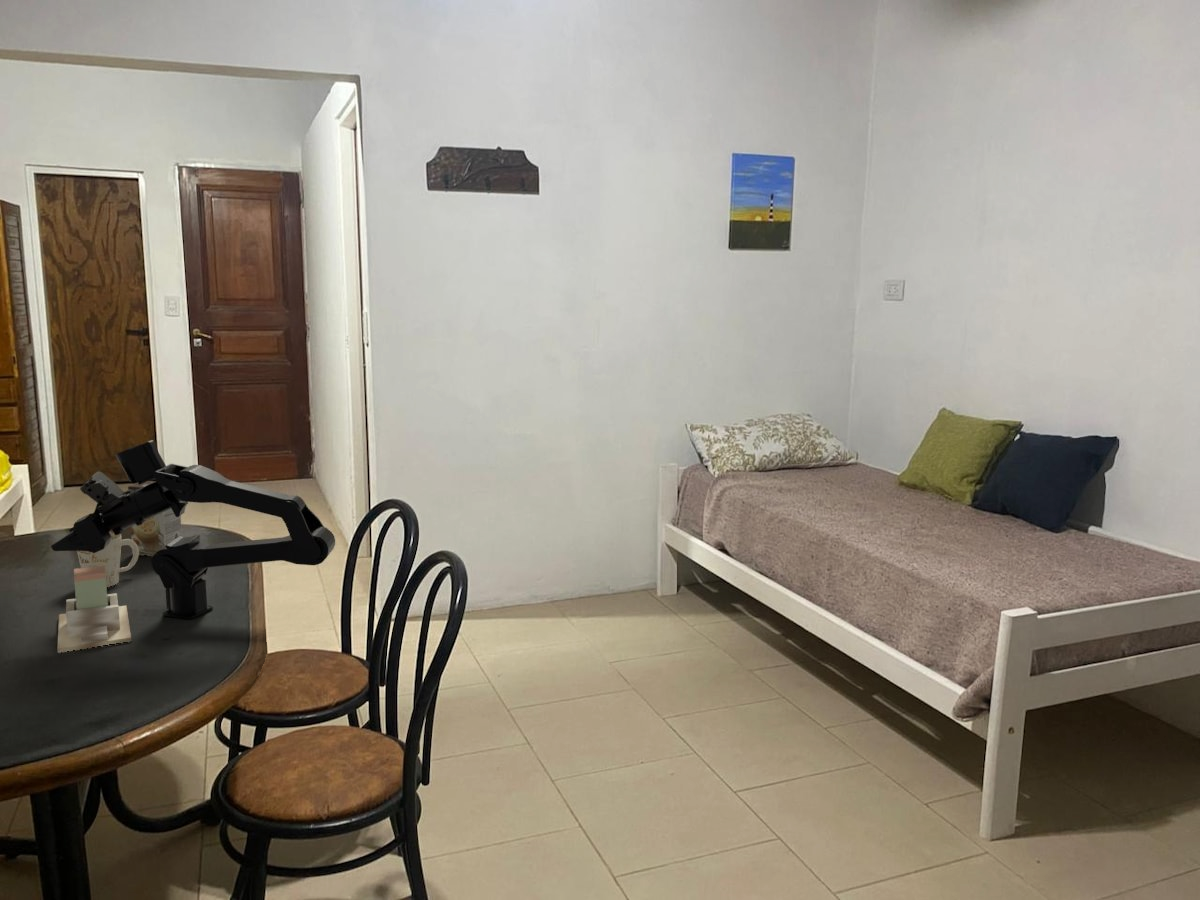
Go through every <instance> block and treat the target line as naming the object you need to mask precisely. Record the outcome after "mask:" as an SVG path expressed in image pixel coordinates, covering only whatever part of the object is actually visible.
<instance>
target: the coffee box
mask: <svg viewBox="0 0 1200 900" xmlns="http://www.w3.org/2000/svg"><path fill="white" fill-rule="evenodd" d="M153 482H156V480H149V481H147V482H144V483H142V484H140V485H138V483H137V482H136V483H134V484H131V485H128V486H127V490H129V489H131V490H133V489H134V491H135V490H137V489H140V488H142V487H144V486H147V485H149V484H151V483H153ZM182 533H183V532H182V515H181V516H179V517H176V516H175V514H174V512H173V511H172V509H169V510H167V511H165V512H163V513H160V514H158V515H156V516H154V517H151V518H149V519H147V520H145V521H144V522H143V524H141V525H138V526H137V525H133V526H131V527H130V536H131V537H130V538H131V540H133V541H134V542H135V543H136V544H137V546H138V549H139V556H144V555H147V556H146V557H153V556H154V554H155V553H156V552H157V551H159V550H160V549H162V548H163V547H164V546H166V545H167V544H168V543H170V542H171V541H173V540H174V539H176V538H177V537H178V536H182V537H183V534H182ZM131 554H132V555H133V550H132V549H131Z"/></svg>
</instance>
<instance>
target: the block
mask: <svg viewBox="0 0 1200 900" xmlns="http://www.w3.org/2000/svg"><path fill="white" fill-rule="evenodd" d="M73 581H74V593H75V598H76V607H77V610H82V609H89V608H97V607H104V606H108V600H107V594H108V590H107V587H106V574H105V565H103V566H94V567H85V568H81V567H77V568H74V569H73Z"/></svg>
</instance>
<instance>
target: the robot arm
mask: <svg viewBox="0 0 1200 900" xmlns="http://www.w3.org/2000/svg"><path fill="white" fill-rule="evenodd" d="M115 457H116V458H117V461H118V463H119V464H120V466H121V468H122V470H123V472H124V473H125V475H126V477H127V479H128V481H129V482H131V483H132V485H134V484H137V483H138V485H140V484H142V483H144V482H147V481H152V480H153V479H155V482H153V483H151V484H149V485H147V486H144V487H142V488H140V489H137V490H135V491H134V489H133V490H131V489H129V490H128V489H127V490H125V491H124V490H122V488H120V487H119V485H118V484H117V483H116V482H114V480H113V479H110V478H109V476H107V475H105V473H103V472H101V471H97V472H95V473H94V474H93V475H92V476H91V477H89V479H88V480H87V481H85V483H84V484H83V485H81V486H80V492H82V493H83V494H84V495H87V496H88V497H90V499H91V500H93V501H94V502H96V503H97V504H96V506H95V509H94V511H93V512H92V513H89V514H86V515H84V516H82V517H81V518H79V519H78V520H76V521H75V522H74V523H73V526H72V527H70V528H69V529H68V531H69V533H68V534H66V535H65V536H64V537H62V538H60V539H59V540H57V541H56V542H55V543H53V544H52V545H51V546H50V547H51V549H52V551H53V552H77V551H89V552H92V553H96V552H98V551H100V550H103V549H104V548H105V547H106V546H107V545H108V544H109V543H110V540H111V537H112V536H111V535H110V533H109V532H111V531H112V532H114V534H115V535H118V534H122V533H123V532H124V530H127V529H129V528H131V526H133V525H137V526H138V525H141V524H143V522H144V521H145V520H147V519H149V518H151V517H154V516H156V515H158V514H160V513H163V512H165V511H167V510H169V509H172V511H173V512H174V514H175V516H176V517H179V516H181V517H182V515H183V514H185V510H186V507H187V505H189V503H199V504H206V503H207V504H208V503H217V504H218V503H219V504H220V503H221V504H225V505H229V506H232V507H233V506H234V507H237V508H242V509H246V510H250V511H254V512H258V513H261V514H265V515H271V516H274V517H277V518H281V519H282V521H283V522H284V524H285V526H286V529H287V531H288V535H287V536H282V537H274V538H273V537H272V538H263V539H262V538H261V539H260V538H259V539H251V540H241V541H240V540H239V541H228V542H220V543H218V542H217V543H206V542H202V541H201V535H200V534H195V535H192V536H183V535H182V536H178V537H177V538H176V539H174V540H173V541H171V542H170V543H168V544H167V545H166V546H164V547H163V548H162V549H160V550H159V551H157V552H156V553H155V554H154V556H152V559H151V566H152V570H153V571H154V573H155V574H156V575H158V576H159V579H160V582H161V583H162V586H163V587H164V589H165V603H166V609H167V610H165V611H163V612H162V613H161V614H162V615H161V616H163V617H170V618H178V619H185V620H193V619H195V618H196V617H198V616H200V615H203V614H205V613H207V612H208V611H211V610H214V606H213V605H209V604H208V600H207V580H206V579H203V578H202V577H204V576H205V575H207V574H208V571H209V568H214V567H224V566H225V567H227V566H236V565H247V564H259V563H268V562H279V561H281V562H287V563H291V564H294V565H300V566H301V565H302V566H317V565H320V564H322V563H323V562H325V560H326V559H327V557H329V555H330V554H331V552H333V550H334V548H335V546H336V538H335V535H334V534H333V532H332V531H331V530H329V528H327V527H325V526H324V524H323V523H322V521H321V520H320V518H319V517H318V516H317V515H316V514H315V513H314V512H313V511H312V510H311V509H310V508H309V507H308V505H307V503H306V502H305V501H304V499H303V498H302V497H300V496H298V495H294V494H292V495H291V494H287V493H283V492H279V491H274V490H271V489H267V488H262V487H259V486H255V485H250V484H247V483H242V482H237V481H234V480H231V479H229V478H226V477H224V476H223V475H222V474H221V473H219V472H218V471H215V470H214V469H213V470H212V469H211V468H209V467H206V466H203V465H201V464H192V465H190V466H185V465H181V464H180V465H179V464H175V463H169V464H167V465H166V464H165V461H164V460H163V457H162V456H161V454H160V452H159V450H158V447H157V444H156V442H155V441H154V440H153V439H152V440H149V441H146V442H144V443H142V444H137V445H134V446H132V447H130V448H128V449H125V450H122V451H121V452H119V453H116V454H115Z"/></svg>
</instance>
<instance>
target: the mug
mask: <svg viewBox="0 0 1200 900" xmlns="http://www.w3.org/2000/svg"><path fill="white" fill-rule="evenodd" d="M109 533H110V535H111V536H112V537H111V540H110V543H109V544H108V545H107V546H106V547H105V548H104V549H103V550H100V551H98V552H96V553H92V552H89V551H76V553H77V557H78V561H79V565H80V568H85V567H94V566H103V565H105V574H106V587H108V588H111V587H110V586H112V585H115V584H116V585H118V584H119V579H120V573H124V572H126V571H129V570H130V569H132V568H133V567H134V566H135V564H136V563H137V561H138V559H139V556H140V555H139V549H138V546H137V544H136V543H135V542H134V541H133V540H131V539H130V538H125V539H122V537H123V536H122V533H120V534H118V535H115V534H114V532H113V531H109ZM123 546H129V547H130V549H131V551H132V550H133V554H132V557H131V560H130V562H129V563H128V565H127V566H122V567H120V566H121V554H122V553H121V551H122V547H123ZM117 583H118V584H117ZM116 585H115V586H116ZM112 587H113V586H112Z"/></svg>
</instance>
